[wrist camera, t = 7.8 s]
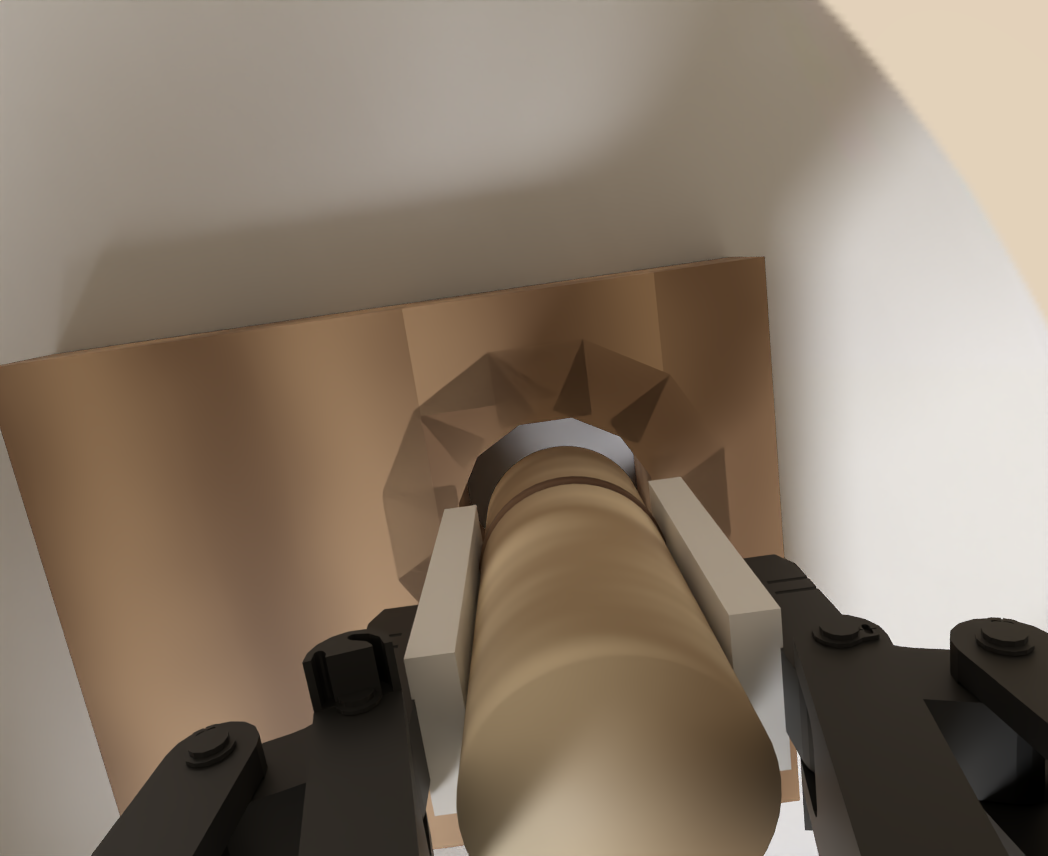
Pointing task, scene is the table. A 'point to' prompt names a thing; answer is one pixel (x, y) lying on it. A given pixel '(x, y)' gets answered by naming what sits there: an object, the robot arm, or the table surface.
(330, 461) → the board
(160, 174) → the table surface
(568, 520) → the dowel
